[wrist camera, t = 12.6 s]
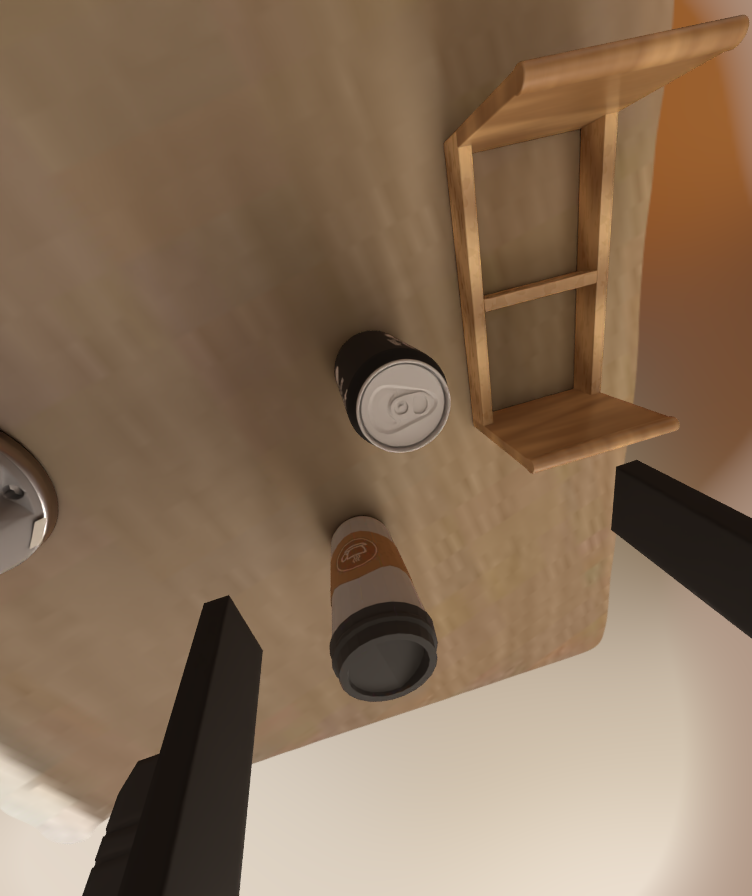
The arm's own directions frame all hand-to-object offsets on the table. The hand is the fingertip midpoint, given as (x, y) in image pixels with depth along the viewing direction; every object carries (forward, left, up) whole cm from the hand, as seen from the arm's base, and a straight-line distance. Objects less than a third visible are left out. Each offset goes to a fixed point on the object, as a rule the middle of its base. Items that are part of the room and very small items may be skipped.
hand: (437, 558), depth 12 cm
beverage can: (0, +2, -23) cm, 23 cm away
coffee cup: (+11, -13, -23) cm, 28 cm away
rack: (+8, +16, -23) cm, 29 cm away
